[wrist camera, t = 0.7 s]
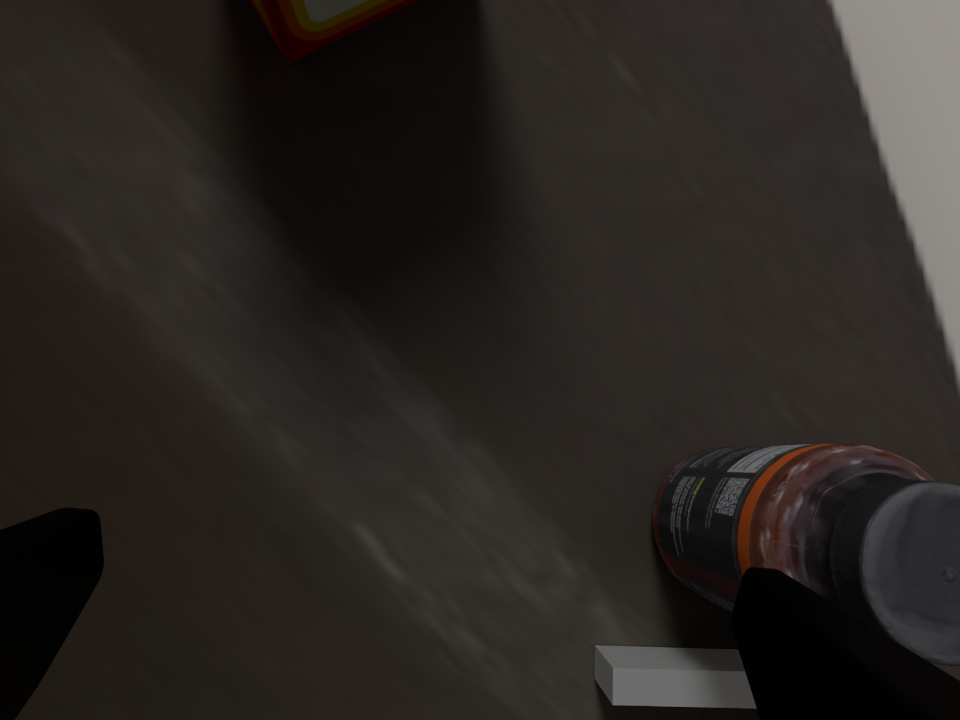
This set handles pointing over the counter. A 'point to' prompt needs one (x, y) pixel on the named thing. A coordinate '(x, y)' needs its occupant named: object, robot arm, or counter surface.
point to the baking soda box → (319, 21)
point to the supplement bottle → (822, 534)
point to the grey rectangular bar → (672, 677)
